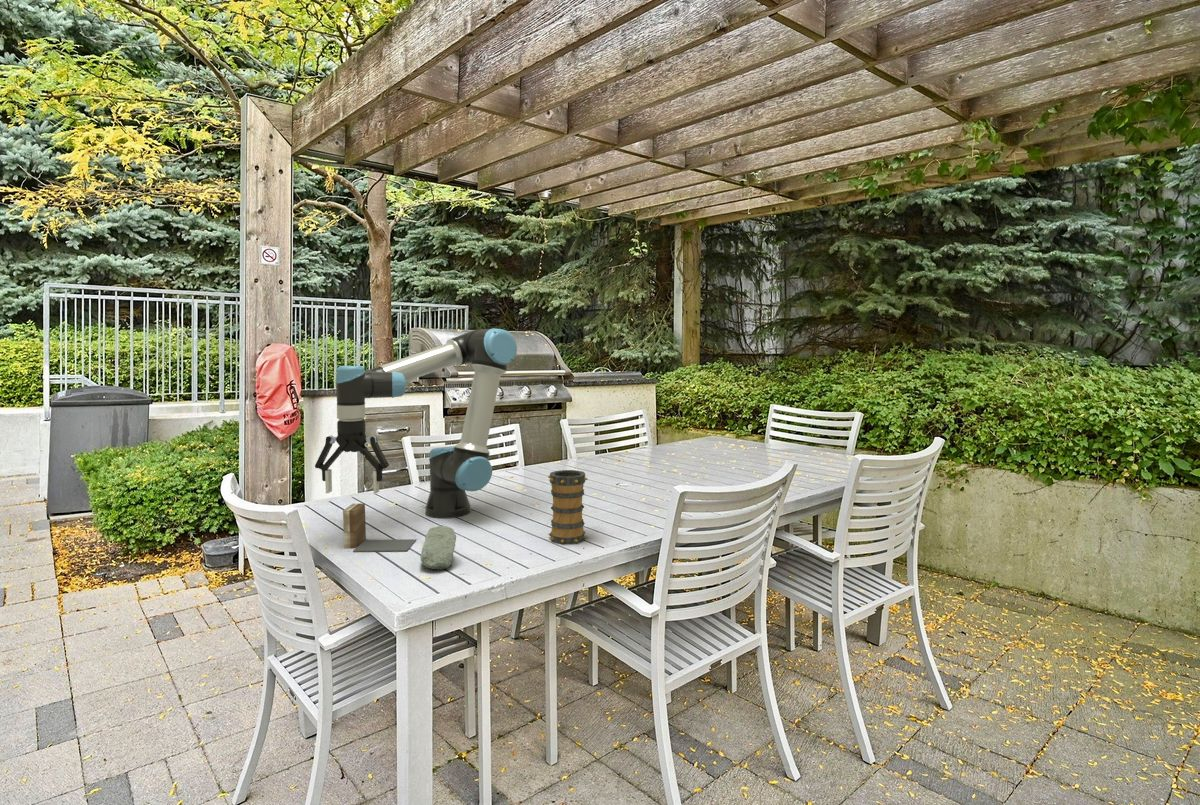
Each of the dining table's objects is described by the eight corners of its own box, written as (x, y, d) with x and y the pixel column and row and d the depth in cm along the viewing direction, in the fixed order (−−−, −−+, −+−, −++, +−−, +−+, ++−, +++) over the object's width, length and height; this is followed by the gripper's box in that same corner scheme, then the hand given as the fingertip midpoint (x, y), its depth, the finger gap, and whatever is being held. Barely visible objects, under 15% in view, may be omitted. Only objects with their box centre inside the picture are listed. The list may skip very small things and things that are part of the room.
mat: (416, 540, 186) (416, 539, 186) (407, 551, 176) (407, 550, 176) (365, 541, 185) (365, 539, 185) (353, 552, 175) (353, 550, 175)
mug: (540, 543, 183) (540, 476, 181) (557, 527, 200) (557, 465, 198) (582, 547, 180) (582, 479, 178) (596, 530, 197) (597, 467, 195)
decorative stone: (432, 553, 174) (414, 530, 169) (467, 540, 173) (450, 517, 168) (428, 590, 164) (408, 568, 158) (465, 577, 163) (447, 554, 157)
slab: (366, 539, 187) (364, 503, 186) (356, 548, 179) (355, 510, 178) (354, 539, 186) (352, 503, 185) (344, 548, 178) (342, 510, 177)
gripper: (398, 418, 183) (399, 489, 185) (312, 417, 182) (314, 489, 184) (391, 421, 176) (392, 495, 178) (301, 420, 175) (303, 495, 177)
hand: (352, 492), depth 181 cm, fingers open, 13 cm apart
